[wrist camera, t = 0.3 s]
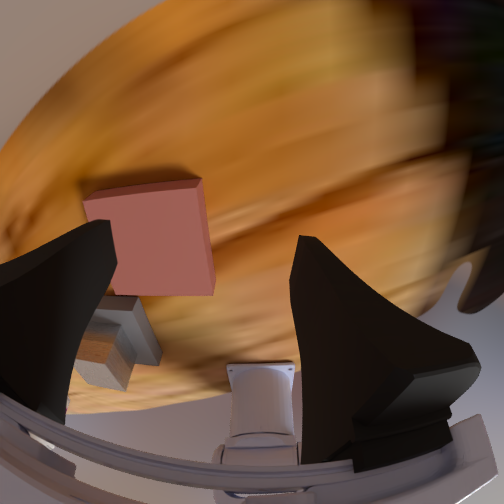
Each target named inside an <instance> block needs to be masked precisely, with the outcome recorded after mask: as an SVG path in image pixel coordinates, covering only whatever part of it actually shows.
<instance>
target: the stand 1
mask: <svg viewBox="0 0 504 504" xmlns="http://www.w3.org/2000/svg"><path fill="white" fill-rule="evenodd" d="M83 205H84V208H85V211H86V215H87V218H88V221H89V222H90V221H93V220H96V219H104V220H110V222H111V229H112V235H113V240H114V246H115V251H116V256H117V261H118V264H117V267H116V270H115V272H114V275H113V277H112V280H111V284H112V287H113V289H114V291H115V294H116V295H150V296H213V294H214V288H215V283H216V277H215V271H214V264H213V258H212V251H211V244H210V237H209V230H208V223H207V216H206V208H205V201H204V193H203V185H202V178H200V179H188V180H177V181H167V182H158V183H149V184H141V185H133V186H126V187H119V188H112V189H106V190H99V191H95V192H93V193H92V194H91V195H90V196H88V197H87V198H86V199H85V200H84V201H83Z"/></svg>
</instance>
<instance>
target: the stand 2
mask: <svg viewBox="0 0 504 504" xmlns="http://www.w3.org/2000/svg"><path fill="white" fill-rule="evenodd" d="M90 322H98V323H109V324H121V325H122V327H123V328H124V330H125V332H126V334H127V336H128V338H129V340H130V342H131V344H132V345H133V347H134V349H135V351H136V352H137V354H138V355H137V358H136V361H135V364H144V365H153V366H159V364H160V360H161V356H162V353H163V352H162V350H161V348H160V346H159V344H158V342H157V339H156V337H155V335H154V333H153V330H152V328H151V326H150V324H149V321H148V319H147V316H146V314H145V312H144V309H143V307H142V304H141V302H140V299H139V297H126V296H103V297H102V299H101V301H100V303H99V305H98V306H97V308H96V310H95V312H94V314H93V316H92V318H91V320H90Z"/></svg>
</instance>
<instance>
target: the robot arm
mask: <svg viewBox="0 0 504 504" xmlns="http://www.w3.org/2000/svg"><path fill="white" fill-rule="evenodd" d="M117 264H118V261H117V256H116V251H115V246H114V240H113V235H112V229H111V222H110V220H104V219H96V220H93V221H90V222H88V223H86V224H83V225H81V226H79V227H77V228H75V229H73V230H71V231H69V232H67V233H65V234H63V235H62V236H60V237H58V238H56V239H54V240H52V241H50V242H48V243H46V244H44V245H42V246H40V247H39V248H37V249H35V250H33V251H31V252H29V253H26V254H24V255H22V256H20V257H18V258H15V259H13V260H11V261H8V262H6V263H3V264H0V504H147V503H143V502H139V501H136V500H132V499H128V498H125V497H122V496H119V495H115V494H113V493H110V492H107V491H104V490H101V489H99V488H96V487H93V486H91V485H88V484H86V483H83V482H81V481H79V480H77V479H75V477H74V474H75V470H76V465H75V464H74V463H72V462H70V461H68V460H66V459H65V458H63V457H61V456H59V455H58V454H56V453H54V452H53V451H51V450H50V449H48V448H47V447H46V446H44V445H43V444H42V443H40V442H38V441H37V440H35V439H33V438H32V437H30V434H29V432H30V433H32V434H33V435H35V436H37V437H39V438H41V439H43V440H45V441H47V442H49V443H51V444H53V445H55V446H57V447H59V448H61V449H63V450H65V451H68V452H70V453H72V454H75V455H77V456H79V457H82V458H84V459H87V460H90V461H92V462H95V463H98V464H100V465H103V466H106V467H109V468H113V469H115V470H119V471H122V472H125V473H129V474H132V475H136V476H140V477H144V478H148V479H152V480H156V481H162V482H166V483H171V484H177V485H183V486H190V487H196V488H204V489H214V499H215V502H216V504H458V503H460V502H461V501H463V500H464V499H466V498H467V497H469V496H470V495H471V494H473V493H474V492H476V491H477V490H479V489H480V488H481V487H483V486H484V485H486V484H487V483H488V482H490V481H491V480H493V479H494V478H495V477H497V475H498V470H497V466H496V462H495V458H494V454H493V451H492V447H491V444H490V441H489V437H488V434H487V431H486V428H485V425H484V422H483V420H482V417H481V414H477V415H475V416H473V417H470V418H468V419H465V420H463V421H460V422H458V423H456V424H455V425H453V426H451V427H449V426H448V422H447V419H449V418H451V416H452V413H451V410H450V407H449V406H450V405H451V404H452V403H454V402H455V401H456V400H457V399H458V398H459V397H460V396H461V395H462V394H464V392H466V390H468V389H469V387H471V385H472V384H473V383H474V382H475V381H476V379H477V378H478V376H479V373H480V370H481V365H480V363H479V360H478V358H477V356H476V354H475V352H474V351H473V349H472V347H471V345H470V344H469V343H467V342H464V341H462V340H460V339H458V338H455V337H453V336H450V335H448V334H445V333H443V332H441V331H439V330H437V329H435V328H433V327H431V326H429V325H427V324H425V323H424V322H422V321H420V320H418V319H417V318H415V317H413V316H411V315H410V314H408V313H407V312H405V311H403V310H402V309H400V308H399V307H397V306H395V305H394V304H393V303H391V302H390V301H388V300H387V299H385V298H384V297H383V296H381V295H380V294H379V293H377V292H376V291H375V290H373V289H372V288H371V287H370V286H368V285H367V284H366V283H365V282H364V281H362V280H361V279H360V278H359V277H358V276H357V275H356V274H354V273H353V272H352V271H351V270H350V269H349V268H348V267H347V266H346V265H345V264H344V263H343V262H341V261H340V260H339V259H338V258H337V257H336V256H335V255H334V254H333V253H332V252H331V251H330V250H329V249H328V248H327V247H326V246H325V245H324V244H323V243H322V242H321V241H320V240H319V239H317V238H316V237H312V236H302V235H299V238H298V243H297V247H296V252H295V257H294V261H293V266H292V270H291V275H290V279H289V284H290V302H291V308H292V313H293V319H294V324H295V330H296V335H297V340H298V346H299V351H300V359H301V372H302V402H303V417H302V419H303V420H302V424H303V425H302V442H297V448H296V436H295V435H294V427H293V413H292V401H291V391H292V384H293V377H294V370H295V364H294V363H293V362H288V363H264V364H228V365H227V373H228V377H229V381H230V386H231V390H232V405H231V420H230V438H225V444H222V445H220V446H219V447H218V448H217V449H216V450H215V451H214V454H213V457H212V463H204V462H197V461H190V460H183V459H176V458H171V457H166V456H161V455H156V454H151V453H147V452H142V451H139V450H135V449H131V448H127V447H124V446H120V445H117V444H113V443H110V442H107V441H104V440H101V439H98V438H95V437H92V436H89V435H87V434H84V433H81V432H79V431H76V430H74V429H71V428H69V427H66V426H64V425H65V416H66V405H67V396H68V390H69V385H70V379H71V374H72V370H73V366H74V363H75V359H76V355H77V352H78V349H79V346H80V343H81V340H82V337H83V334H84V332H85V330H86V328H87V325H88V323H89V322H90V320H91V318H92V316H93V314H94V312H95V310H96V308H97V306H98V305H99V303H100V301H101V299H102V297H103V295H104V294H105V292H106V290H107V288H108V286H109V284H110V282H111V280H112V277H113V275H114V272H115V270H116V267H117ZM286 492H294V493H286ZM234 493H235V494H268V493H285V494H276V495H260V496H248V497H246V498H245V497H239V496H237V495H235V494H234Z"/></svg>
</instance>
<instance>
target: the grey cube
mask: <svg viewBox="0 0 504 504" xmlns="http://www.w3.org/2000/svg"><path fill="white" fill-rule="evenodd" d="M137 355H138V354H137V352H136V351H135V349H134V347H133V345H132V344H131V342H130V340H129V338H128V336H127V334H126V332H125V330H124V328H123V327H122V325H121V324H109V323H98V322H89V323H88V325H87V328H86V330H85V332H84V334H83V337H82V340H81V343H80V346H79V349H78V352H77V355H76V359H75V363H74V366H73V367H74V368H75V369H76V370H77V372H78V373H79V374H80V375H81V376H82V378H83V379H84V380H85V381H86V382H87V383H88V384H91V385H95V386H99V387H104V388H109V389H114V390H119V391H125V392H126V389H127V386H128V383H129V380H130V376H131V373H132V370H133V367H134V364H135V361H136V358H137Z"/></svg>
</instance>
